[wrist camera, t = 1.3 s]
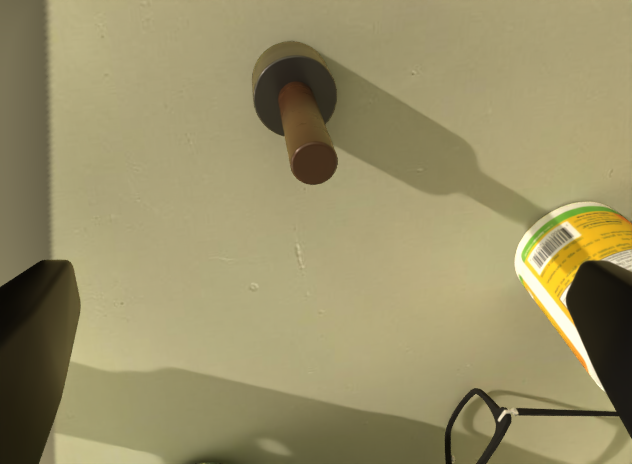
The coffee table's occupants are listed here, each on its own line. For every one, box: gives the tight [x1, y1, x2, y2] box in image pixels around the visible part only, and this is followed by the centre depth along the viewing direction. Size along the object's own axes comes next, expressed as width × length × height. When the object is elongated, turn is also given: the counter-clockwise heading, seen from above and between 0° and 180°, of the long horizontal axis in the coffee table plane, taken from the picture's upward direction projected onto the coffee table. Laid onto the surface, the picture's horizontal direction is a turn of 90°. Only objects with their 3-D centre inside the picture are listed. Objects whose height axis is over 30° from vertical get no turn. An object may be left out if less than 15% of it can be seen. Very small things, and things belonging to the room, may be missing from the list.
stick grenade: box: [252, 41, 338, 185], centre depth 15 cm, size 3×3×7 cm
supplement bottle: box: [515, 202, 632, 391], centre depth 20 cm, size 5×5×10 cm
